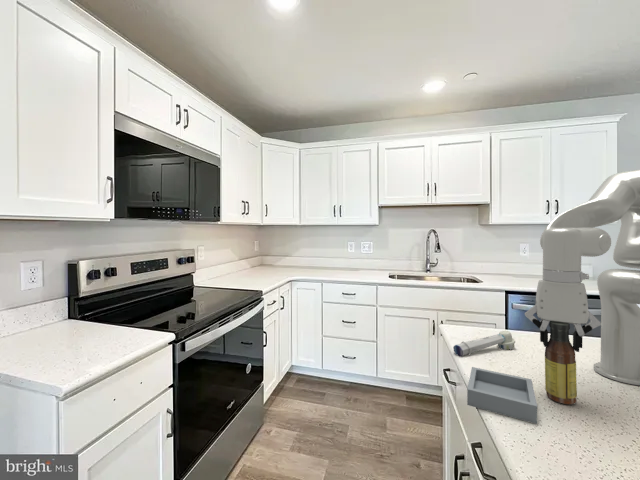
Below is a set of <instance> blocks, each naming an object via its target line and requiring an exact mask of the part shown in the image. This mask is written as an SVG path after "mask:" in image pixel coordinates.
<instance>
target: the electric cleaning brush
mask: <svg viewBox="0 0 640 480" xmlns="http://www.w3.org/2000/svg"><path fill="white" fill-rule="evenodd" d="M515 343H516V340H515V338H513V336H512V333H511V332H510V331H508V330H500V331H499V333H497V334H493V335H490V336H484V337H481V338H476V339H473V340H468V341H462V342H460V343H457V344H455V345H453V352H454V354H455V355H457V356H459V357H463V356H466V355H467V356H469V355H471V354H473V353H476V352H478V351H481V350H484V349H487V348H489V347H493V346H495V345H496V346H499V347H498V349H501V348H502V349H501V350H504V349H506V350H509V349H510V351H511V349H512V350H514V348H515Z"/></svg>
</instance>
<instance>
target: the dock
mask: <svg viewBox="0 0 640 480" xmlns="http://www.w3.org/2000/svg"><path fill="white" fill-rule="evenodd" d="M470 369H471V370H470V375H469V379H468V383H467V384H468V385H467V390H466V391H467V396H466V402H467V406H469V407H473V408H477V409H480V410H484V411H487V412H488V411H489V412H492V413H496V414H499V415H503V416H507V417H510V418H513V419H518V420H522V421H525V422H529V423H532V424H536V425H537V424H538V402H537V397H536V393H535V390H534V386H533V380H532V379H531V378H528V377H524V376H517V375H514V374H513V375H512V374H507V373H504V372H499V371H492V370H490V369H489V370H488V369H484V368H480V367H474V366H472V367H471V368H470Z"/></svg>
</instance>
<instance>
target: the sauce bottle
mask: <svg viewBox="0 0 640 480" xmlns="http://www.w3.org/2000/svg"><path fill="white" fill-rule="evenodd" d="M570 324H571V323H563V322H554V321H549V323H548V326H549V332H550V333H549V338H548V347H545V350H544V383H545V385H544V387H545V392H546V396H547V397H548V398H549V399H551V400H552V401H553V402H556V403H559V404H564V405H568V406H569V405H570V406H571V405H575V404H576V403H577V397H578V396H577V395H578V394H577V393H578V390H577V389H578V386H577V385H578V384H577V361H576V351H575V350H574V348H573V343H571V341H570V332H569V331H570V329H571V326H570Z"/></svg>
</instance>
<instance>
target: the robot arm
mask: <svg viewBox="0 0 640 480" xmlns="http://www.w3.org/2000/svg"><path fill="white" fill-rule="evenodd" d="M619 220H620V228H619V232H618V236H617V238H616V242H615V246H614V249H613V255H612V257H613V261H614V263H615V264H617V265H618V266H620V267H625V268H611V269H606V270H604V271H602V272H601V273H600V274H599V275H598V277H597V281H596V282H597V283H596V285H597V289H598V294H599V298H600V313H601V314H600V317H601V319H600V320H601V321H600V320H599V319H598V318H597V317H596V316H595V315H594V314H593V313H591V311H590V310H589V304H588V302H589V301H588V296H587V290H586V286H585V283H584V282H583V280H589V279H590V274H589V273H586V272H585V273H584V272H583V271H582V257H587V258H589V257H592V258H595V257H599V256H600V257H601V256H603V255H605V254H606V253H607V252H608V251H609V250H610V249H611V246H612V238H611V235H610V234H609V232H607V231H606V230H604V229H602V228H599V227H602V226H606V225H609V224H612V223H615V222H618V221H619ZM539 244H540V247H541V249H542V279H540V280H538V283H537V288H536V293H535V296H536V297H535V304H534V305H533V306H532V307H530V308H529V309H528V310H527V311H526V312H524V316H525V317H526V318H527V319H528V320H529V321H530V322H532V324H534V325H535V326H536V327H537V328H538V329H539V341H540V343H542V345H543V347H545V348H546V347H548V341H549V332H548V329H547V327H548V326H549V322H550V321H554V322H563V323H569V324H571V325H573V328H574V332H572V346H573V348H574V350H575V353H576V352H578V353H580V349H582V348H583V337H585V335H586V334H587V333H589V332H591V331H592V330H593V329H596V328H598V327H600V361H599V362H598V361H597V362H595V363H593V370H594V371H595V372H596V373H597V374H599V375H601V376H604V377H605V378H608V379H611V380H613V381H616V382H620V383H624V384H628V385H634V386H640V306H639V305H640V169H636V170H635V169H634V170H627V171H621V172H617V173H613V174H611V175H610V176H608V177H607V178H606V179H605V180H604V181H602V183H601V185H600V186H599V187H598V189H597V190H596V191H595V192H594V193H593V194H592V195H591V197H589V199H588V201H586V202H582V203H581V204H579V205H578V204H577V206H574V207H572V208H571V209H568V210H566V211H564V212H562V213H560V214H558V215H557V216H555V218H553V219H552V220H551V221H550V222H549V223H548V224H547V225H546V227H545V228H544V230H543V231H542V234H541V235H540V240H539ZM626 268H629V269H626ZM637 269H638V270H637ZM535 314H536V315H537V317H536V316H534V315H535ZM539 319H540V320H539ZM589 320H590V321H589Z"/></svg>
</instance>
